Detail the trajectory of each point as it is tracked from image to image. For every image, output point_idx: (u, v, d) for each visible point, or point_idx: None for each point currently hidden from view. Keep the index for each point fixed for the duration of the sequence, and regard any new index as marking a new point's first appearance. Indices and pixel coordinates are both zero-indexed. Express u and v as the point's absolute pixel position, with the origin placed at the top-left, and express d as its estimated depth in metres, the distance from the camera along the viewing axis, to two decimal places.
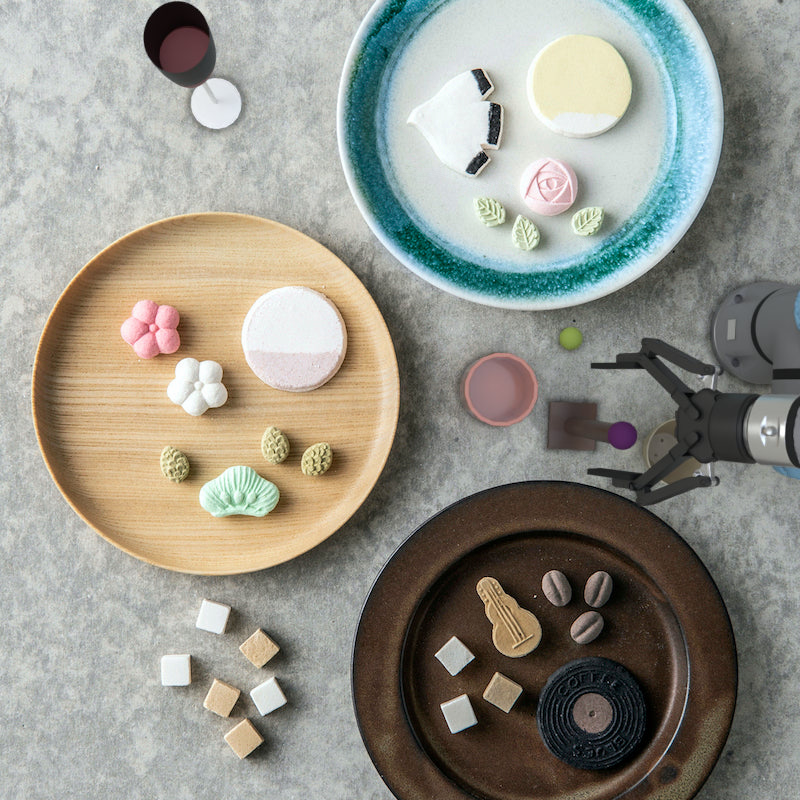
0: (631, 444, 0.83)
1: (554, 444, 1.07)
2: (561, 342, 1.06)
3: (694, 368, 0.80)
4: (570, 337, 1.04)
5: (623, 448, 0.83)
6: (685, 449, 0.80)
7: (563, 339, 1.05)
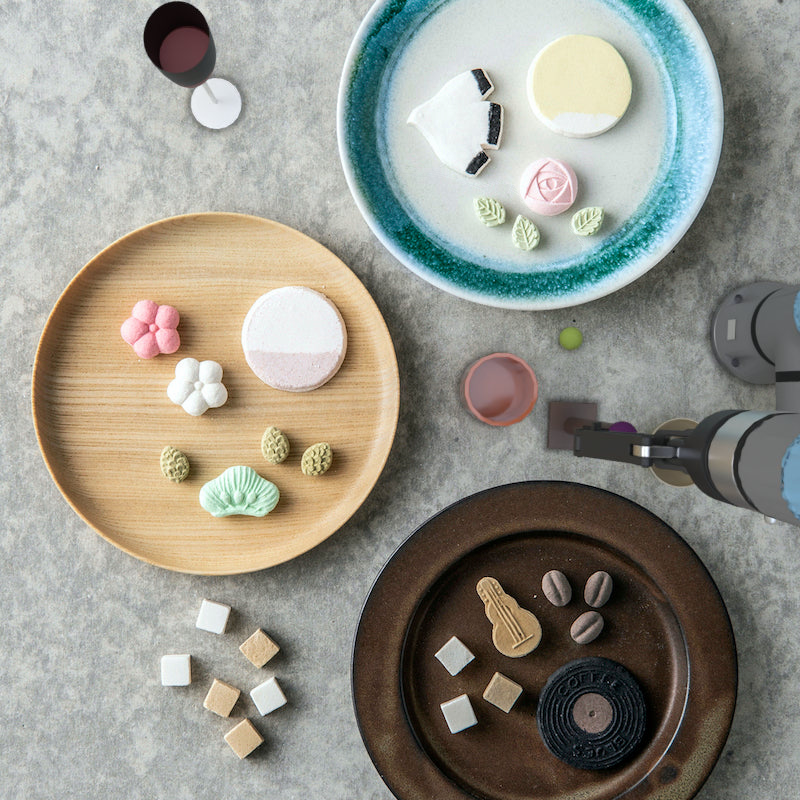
0: None
1: (554, 444, 1.07)
2: (561, 342, 1.06)
3: None
4: (570, 337, 1.04)
5: None
6: None
7: (563, 339, 1.05)
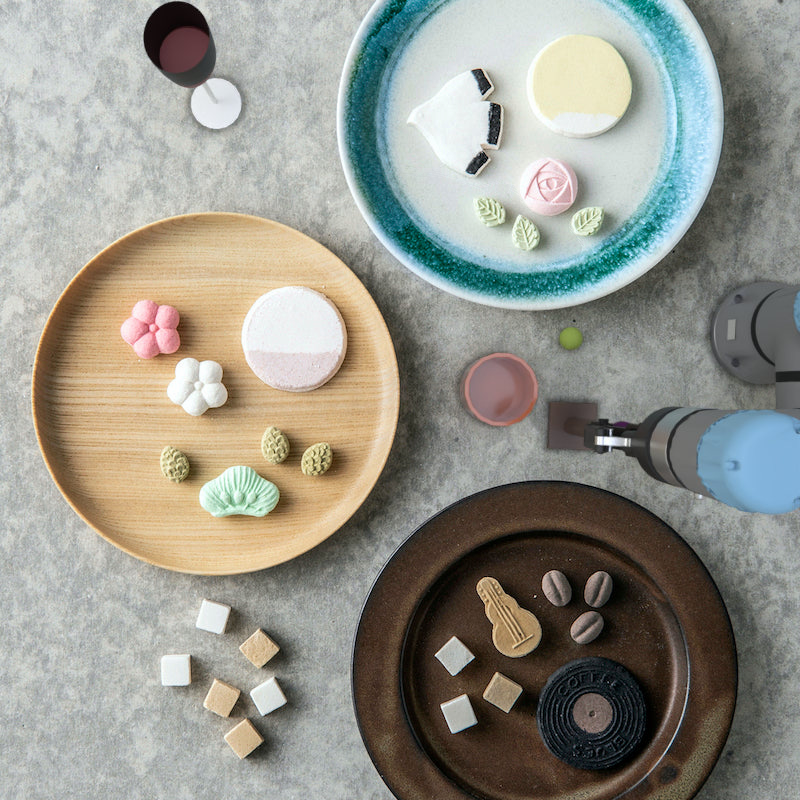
0: None
1: (554, 444, 1.07)
2: (561, 342, 1.06)
3: None
4: (570, 337, 1.04)
5: None
6: None
7: (563, 339, 1.05)
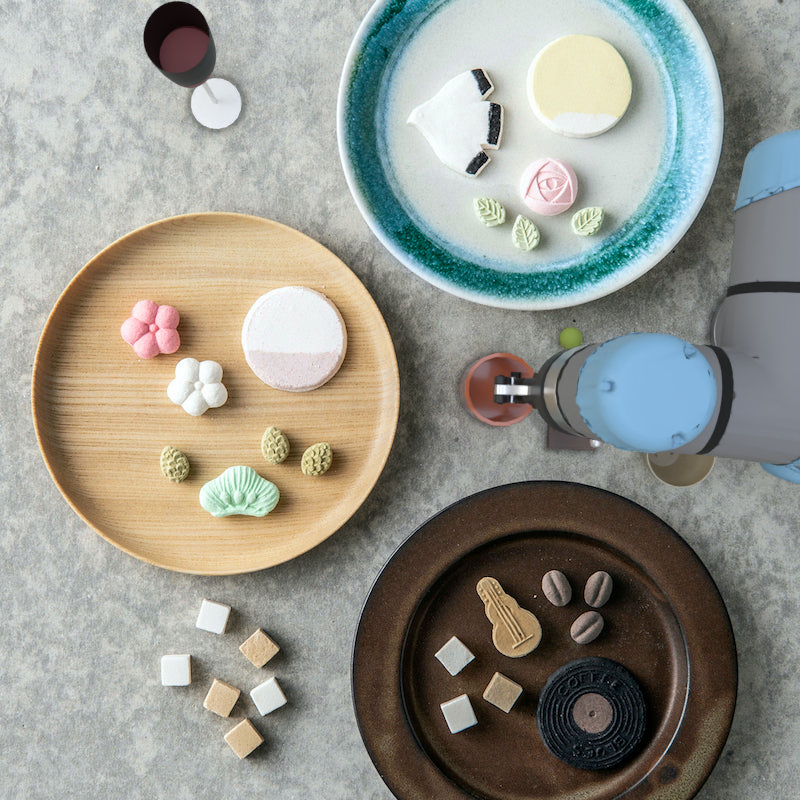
0: None
1: (554, 444, 1.07)
2: (561, 342, 1.06)
3: None
4: (570, 337, 1.04)
5: None
6: None
7: (563, 339, 1.05)
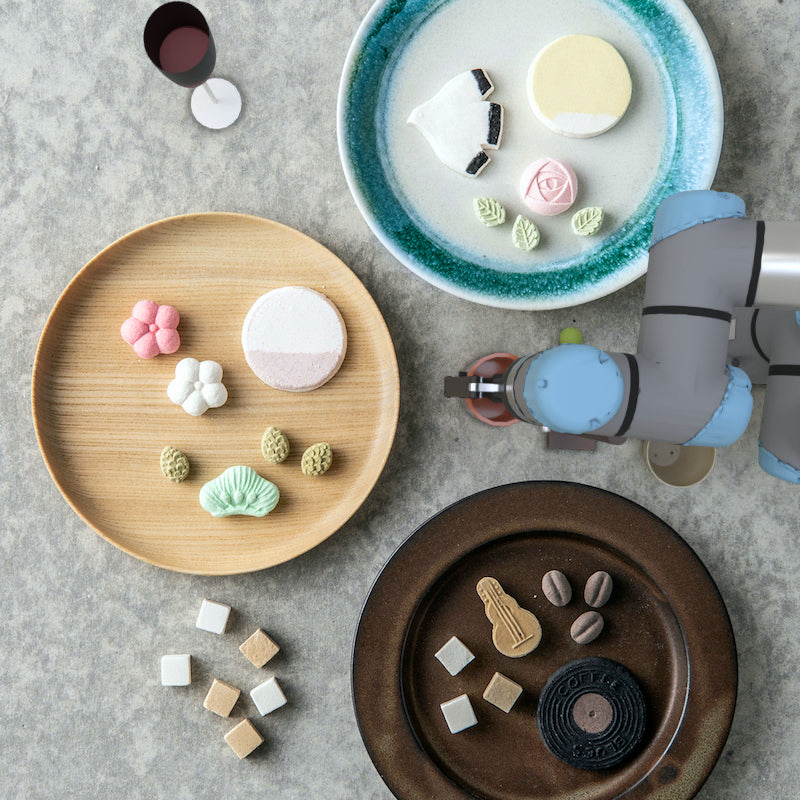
0: None
1: (554, 444, 1.07)
2: (561, 342, 1.06)
3: None
4: (570, 337, 1.04)
5: None
6: None
7: (563, 339, 1.05)
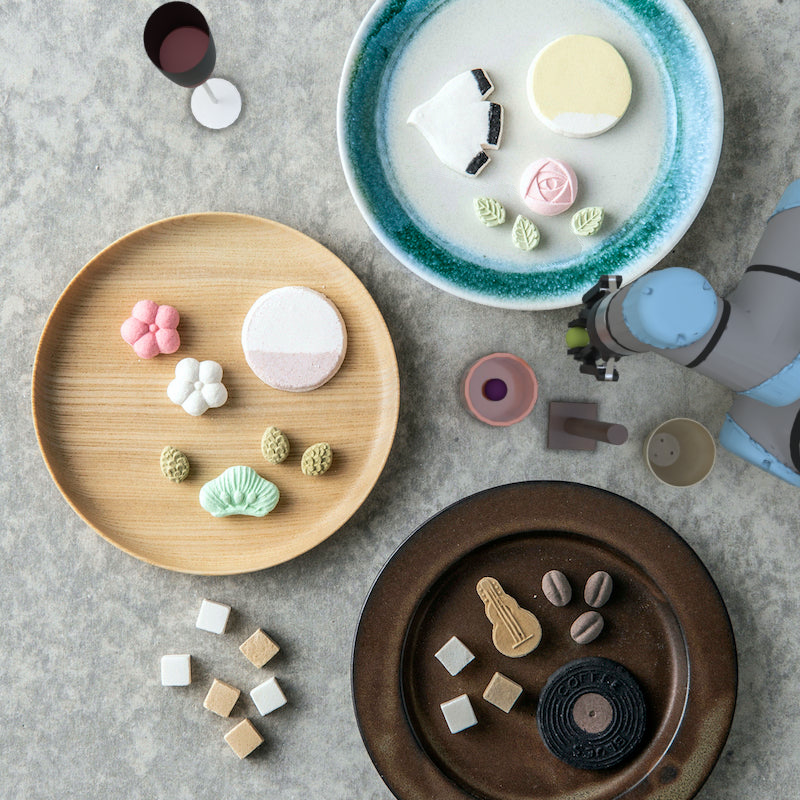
0: (502, 396, 1.04)
1: (554, 444, 1.07)
2: (567, 342, 1.03)
3: None
4: (576, 337, 1.01)
5: (496, 399, 1.05)
6: None
7: (569, 339, 1.02)
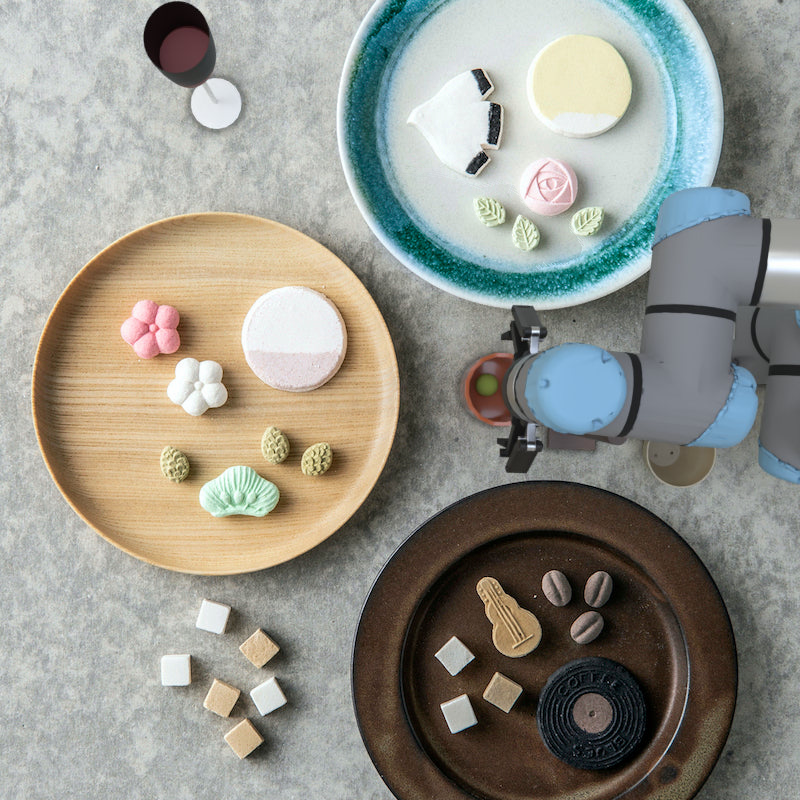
0: None
1: (554, 444, 1.07)
2: None
3: None
4: None
5: None
6: None
7: None
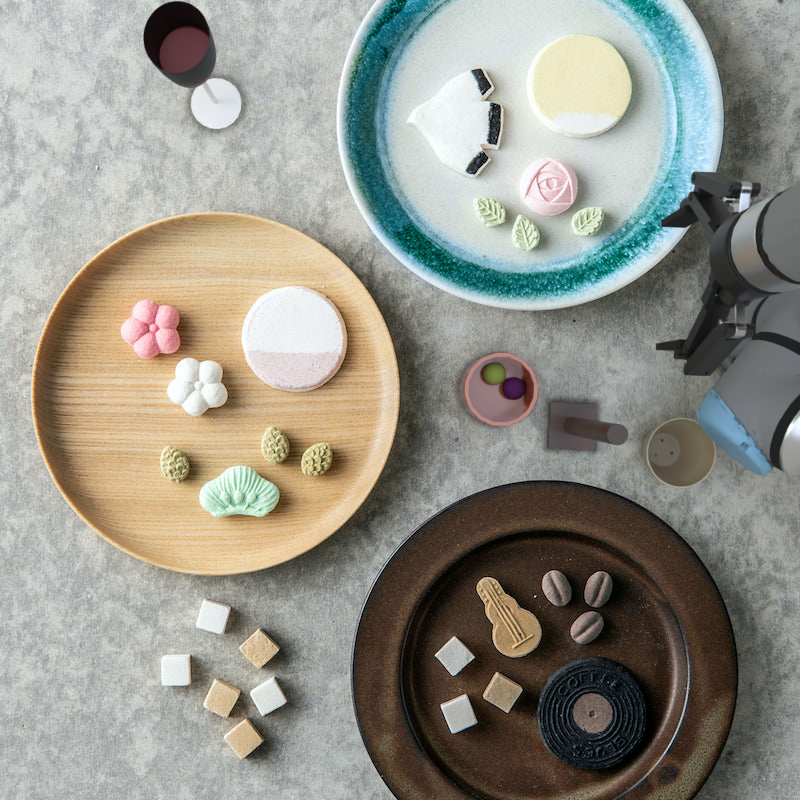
0: None
1: (554, 444, 1.07)
2: (490, 383, 1.05)
3: None
4: (484, 373, 1.05)
5: (518, 398, 1.05)
6: None
7: (486, 380, 1.05)
